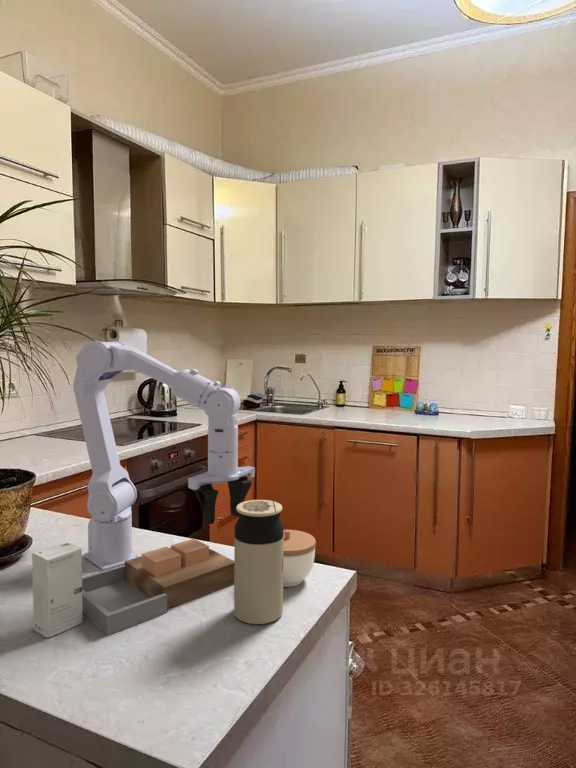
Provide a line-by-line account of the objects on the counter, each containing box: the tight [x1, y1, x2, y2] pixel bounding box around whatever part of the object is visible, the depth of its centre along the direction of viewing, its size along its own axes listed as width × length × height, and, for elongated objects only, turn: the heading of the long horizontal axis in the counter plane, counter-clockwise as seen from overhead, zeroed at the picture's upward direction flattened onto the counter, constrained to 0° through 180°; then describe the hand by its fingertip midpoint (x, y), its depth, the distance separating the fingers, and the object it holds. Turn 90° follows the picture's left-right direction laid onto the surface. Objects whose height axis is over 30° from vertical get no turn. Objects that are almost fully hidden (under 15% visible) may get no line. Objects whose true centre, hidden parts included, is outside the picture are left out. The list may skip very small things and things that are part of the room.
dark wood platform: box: [124, 547, 234, 611], centre depth 98 cm, size 14×15×4 cm
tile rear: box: [170, 538, 210, 566], centre depth 99 cm, size 5×5×2 cm
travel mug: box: [233, 499, 285, 625], centre depth 87 cm, size 8×8×18 cm
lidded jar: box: [283, 529, 317, 588], centre depth 100 cm, size 11×11×9 cm
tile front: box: [141, 546, 181, 576], centre depth 95 cm, size 5×5×2 cm
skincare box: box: [31, 542, 84, 639], centre depth 83 cm, size 6×4×12 cm
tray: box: [82, 564, 168, 636], centre depth 90 cm, size 16×10×3 cm, turn 43°
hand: (222, 518), depth 104 cm, fingers open, 6 cm apart
